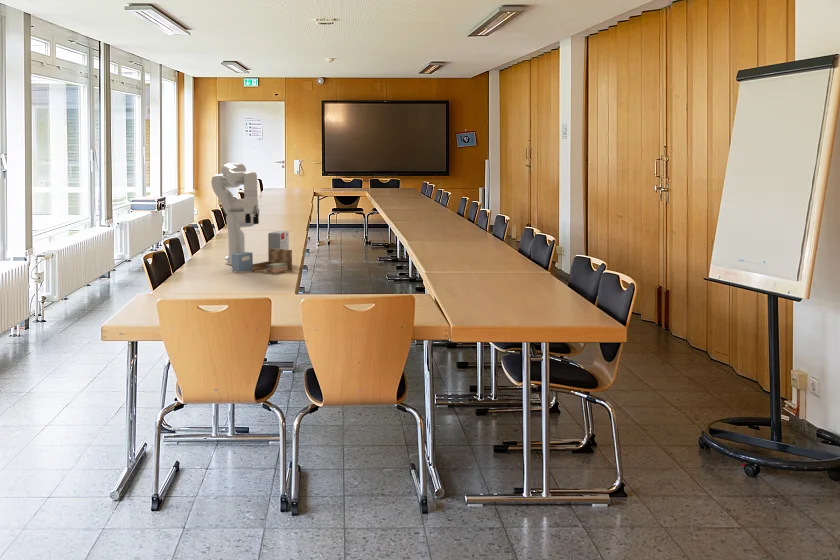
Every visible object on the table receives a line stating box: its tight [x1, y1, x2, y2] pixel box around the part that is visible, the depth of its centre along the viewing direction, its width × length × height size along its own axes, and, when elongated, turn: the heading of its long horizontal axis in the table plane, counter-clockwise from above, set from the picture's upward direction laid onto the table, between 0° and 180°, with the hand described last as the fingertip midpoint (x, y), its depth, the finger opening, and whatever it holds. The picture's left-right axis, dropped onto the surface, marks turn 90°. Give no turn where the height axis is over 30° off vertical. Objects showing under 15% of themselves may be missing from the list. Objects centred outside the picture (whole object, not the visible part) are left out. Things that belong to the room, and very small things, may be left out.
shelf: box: [251, 248, 293, 275], centre depth 502 cm, size 16×16×12 cm
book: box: [231, 251, 254, 273], centre depth 505 cm, size 5×12×10 cm, turn 150°
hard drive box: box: [267, 230, 290, 261], centre depth 526 cm, size 16×8×20 cm, turn 168°
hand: (252, 223), depth 506 cm, fingers open, 9 cm apart
